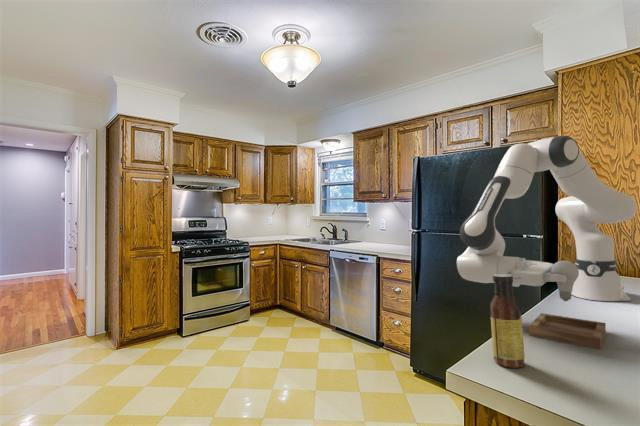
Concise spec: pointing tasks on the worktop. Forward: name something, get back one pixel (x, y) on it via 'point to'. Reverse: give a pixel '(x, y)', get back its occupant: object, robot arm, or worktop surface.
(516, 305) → the sauce bottle
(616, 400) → the worktop surface
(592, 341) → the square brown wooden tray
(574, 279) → the lightbulb
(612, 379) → the worktop surface
